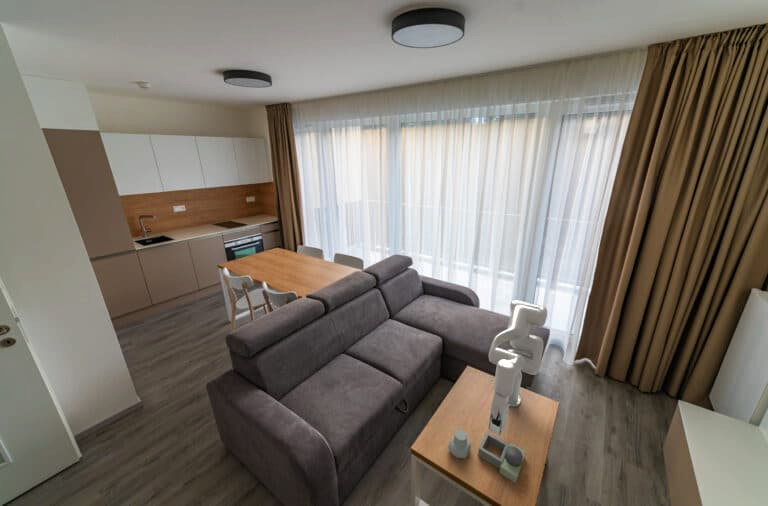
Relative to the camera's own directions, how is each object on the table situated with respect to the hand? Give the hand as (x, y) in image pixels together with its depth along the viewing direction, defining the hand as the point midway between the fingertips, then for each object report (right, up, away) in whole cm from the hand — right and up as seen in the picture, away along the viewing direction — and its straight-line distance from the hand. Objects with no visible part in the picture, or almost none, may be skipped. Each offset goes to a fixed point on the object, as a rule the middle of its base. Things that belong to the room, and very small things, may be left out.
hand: (498, 419), depth 128 cm
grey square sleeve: (+3, -21, +5) cm, 21 cm away
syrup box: (0, -6, +2) cm, 6 cm away
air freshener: (-15, -20, +9) cm, 26 cm away
